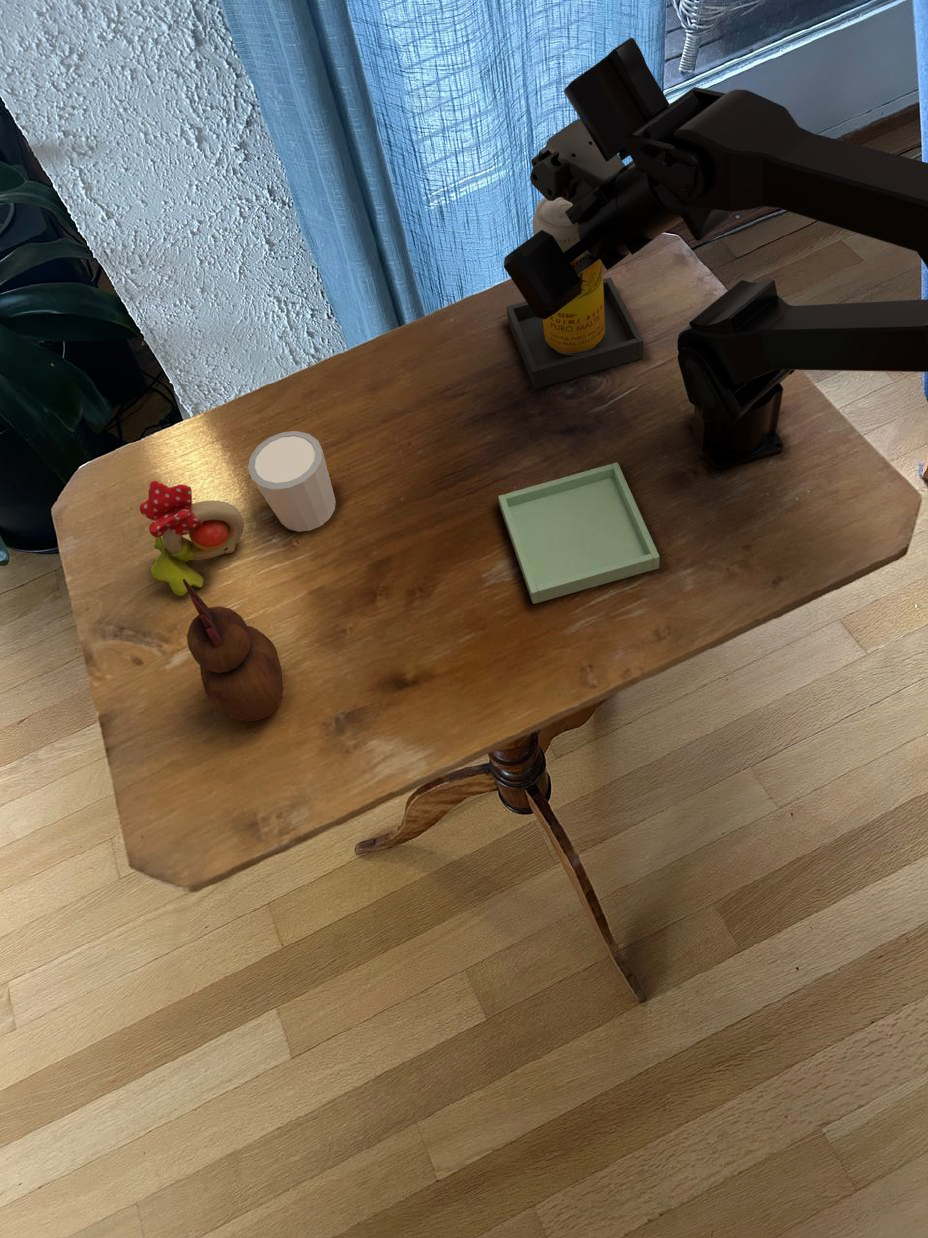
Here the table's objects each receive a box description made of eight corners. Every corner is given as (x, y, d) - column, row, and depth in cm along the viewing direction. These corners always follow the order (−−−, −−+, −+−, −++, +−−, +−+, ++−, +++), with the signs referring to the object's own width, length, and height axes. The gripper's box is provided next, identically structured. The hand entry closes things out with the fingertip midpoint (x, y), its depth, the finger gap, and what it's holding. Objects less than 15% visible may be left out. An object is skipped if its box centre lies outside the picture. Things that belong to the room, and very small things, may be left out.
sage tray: (617, 474, 90) (617, 461, 89) (659, 568, 84) (659, 556, 83) (500, 507, 90) (497, 495, 89) (532, 604, 84) (531, 593, 83)
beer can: (551, 364, 99) (538, 235, 86) (539, 325, 102) (525, 195, 90) (611, 351, 98) (607, 219, 86) (597, 311, 102) (591, 179, 89)
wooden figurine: (227, 667, 85) (156, 566, 73) (292, 657, 85) (231, 554, 72) (223, 737, 82) (147, 644, 69) (291, 727, 81) (227, 631, 69)
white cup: (331, 539, 91) (310, 490, 86) (262, 534, 93) (237, 486, 87) (350, 482, 95) (331, 431, 89) (283, 478, 96) (260, 428, 91)
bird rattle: (226, 540, 96) (131, 558, 92) (231, 449, 88) (128, 464, 84) (249, 584, 93) (152, 605, 88) (257, 494, 85) (151, 511, 81)
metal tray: (611, 294, 104) (610, 276, 102) (643, 358, 98) (643, 340, 96) (508, 324, 104) (505, 306, 102) (534, 389, 98) (532, 371, 96)
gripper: (671, 53, 80) (579, 136, 95) (506, 169, 75) (435, 238, 89) (741, 175, 83) (642, 238, 97) (586, 295, 78) (505, 343, 92)
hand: (557, 261), depth 94 cm, fingers open, 9 cm apart
